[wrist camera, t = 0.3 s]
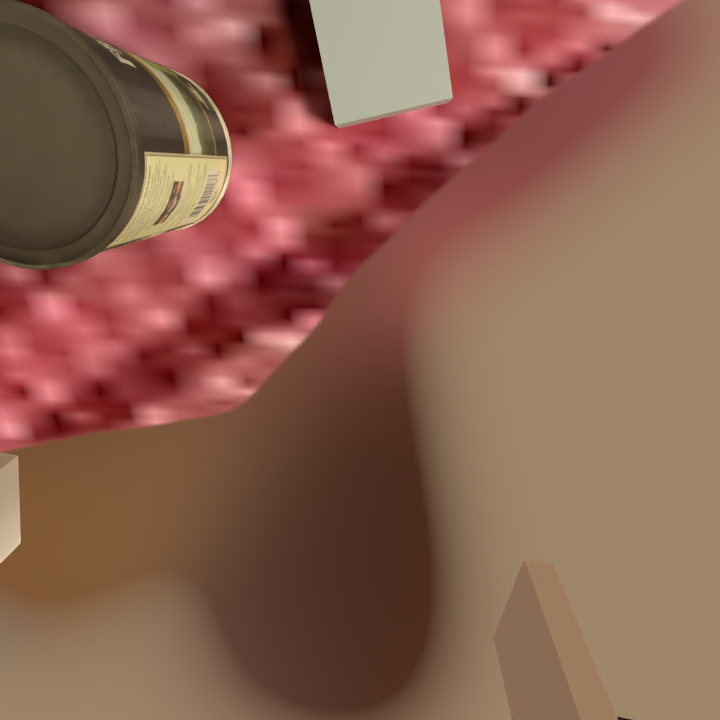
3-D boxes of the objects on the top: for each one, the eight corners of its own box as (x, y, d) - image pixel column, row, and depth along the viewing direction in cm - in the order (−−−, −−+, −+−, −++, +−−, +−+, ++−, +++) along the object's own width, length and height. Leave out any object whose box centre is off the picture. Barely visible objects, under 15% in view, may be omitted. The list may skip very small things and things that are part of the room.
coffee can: (73, 53, 33) (-141, -24, 19) (236, 75, 33) (133, 14, 19) (82, 221, 36) (-92, 252, 23) (229, 241, 36) (139, 285, 23)
